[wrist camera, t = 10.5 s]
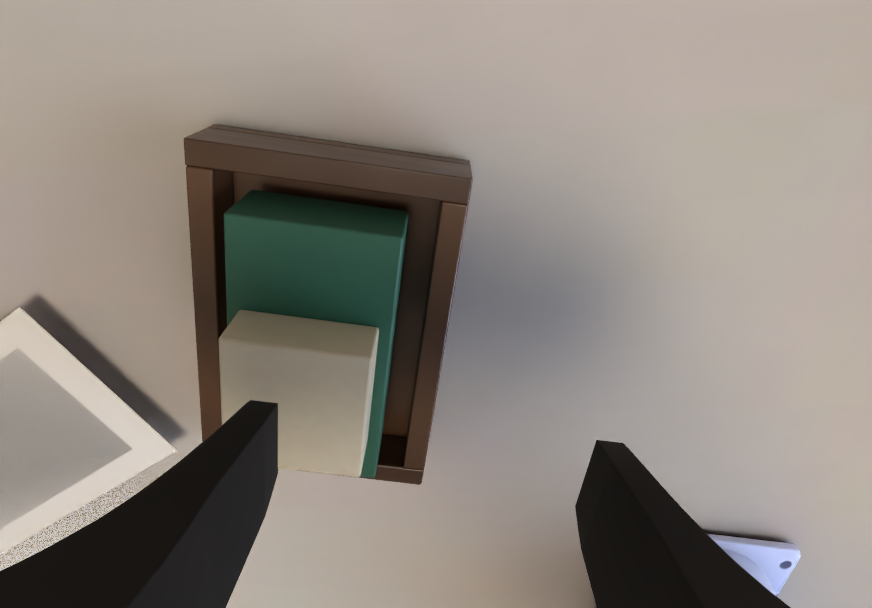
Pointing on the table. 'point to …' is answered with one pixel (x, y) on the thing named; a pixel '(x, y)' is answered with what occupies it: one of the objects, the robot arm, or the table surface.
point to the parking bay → (351, 183)
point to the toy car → (312, 324)
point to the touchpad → (59, 433)
